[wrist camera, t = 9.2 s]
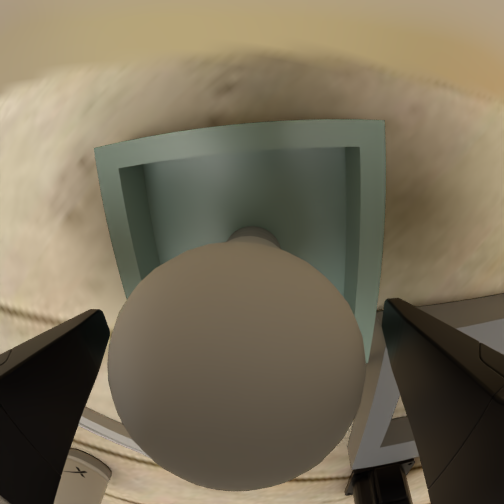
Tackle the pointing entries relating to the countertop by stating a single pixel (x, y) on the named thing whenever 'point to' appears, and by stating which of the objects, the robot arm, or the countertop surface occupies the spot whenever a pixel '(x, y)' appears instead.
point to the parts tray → (254, 198)
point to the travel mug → (82, 480)
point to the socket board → (386, 391)
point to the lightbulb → (236, 364)
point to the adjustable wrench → (108, 429)
